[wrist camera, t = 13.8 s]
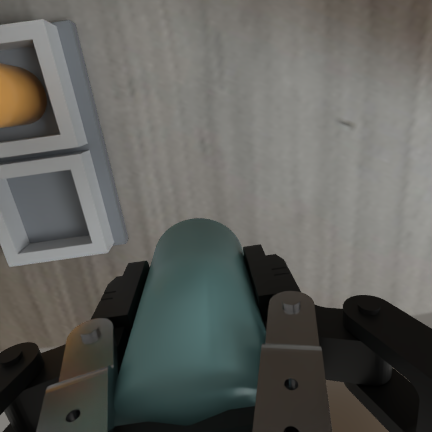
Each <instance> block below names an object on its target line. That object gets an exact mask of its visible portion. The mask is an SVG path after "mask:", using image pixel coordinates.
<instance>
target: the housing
mask: <svg viewBox="0 0 432 432" xmlns="http://www.w3.org/2000/svg"><path fill="white" fill-rule="evenodd" d="M0 63H1V64H6V65H12V66H17V67H21V68H24V69H26V70H28V71H29V72H31V73H32V74H34V75H35V76H36V77H37V78H38V79H39V81H40V82H41V84H42V85H43V87H44V90H45V92H46V97H47V105H46V110H45V112H44V114H43V116H42V117H41V118H40V119H39V120H38V121H36V122H34V123H32V124H27V125H19V126H12V127H4V128H0V245H1V247H2V250H3V252H4V255H5V257H6V260H7V262H8V265H9V267H12V266H19V265H26V264H33V263H40V262H47V261H54V260H61V259H68V258H75V257H82V256H89V255H96V254H103V253H108V252H109V250H110V249H111V247H112V245H119V244H126V243H127V241H128V239H129V238H128V234H127V230H126V226H125V222H124V218H123V214H122V210H121V206H120V202H119V198H118V194H117V190H116V186H115V182H114V178H113V174H112V170H111V166H110V162H109V158H108V154H107V150H106V146H105V142H104V138H103V134H102V130H101V126H100V122H99V118H98V114H97V110H96V106H95V102H94V98H93V94H92V89H91V85H90V81H89V77H88V73H87V69H86V65H85V61H84V57H83V53H82V49H81V45H80V41H79V37H78V33H77V29H76V25H75V23H74V22H72V21H70V20H67V21H60V22H52V23H49V22H48V21H46V20H44V19H40V20H33V21H25V22H18V23H11V24H4V25H0Z"/></svg>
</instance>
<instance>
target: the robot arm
mask: <svg viewBox="0 0 432 432" xmlns="http://www.w3.org/2000/svg"><path fill="white" fill-rule="evenodd" d="M243 253H244V258H245V262H246V265H247V269H248V272H249V276H250V279H251V283H252V286H253V290H254V293H255V296H256V300H257V303H258V307H259V310H260V313H261V316H262V319H263V322H264V326H265V329H266V340H265V343H262V346H261V354H260V364H259V373H258V383H257V393H256V402H255V406H251V407H244V408H237V409H230V410H227V411H225V412H222V413H220V414H217V415H215V416H212V417H210V418H207V419H205V420H202V421H200V422H197V423H195V424H192V425H188V426H185V425H176V424H167V423H159V422H150V421H147V422H140V423H133V424H126V425H120V426H114V417H115V413H116V411H115V408H114V405H113V401H114V393H115V387H116V382H117V378H118V375H119V371H120V368H121V364H122V361H123V358H124V354H125V351H126V347H127V344H128V341H129V337H130V334H131V330H132V327H133V324H134V320H135V317H136V313H137V310H138V307H139V303H140V300H141V296H142V293H143V290H144V286H145V283H146V279H147V276H148V273H149V269H150V267H149V264H148V262H147V261H141V262H134V263H128V265H127V267H126V269H125V272H124V274H123V276H119V277H116V278H115V279H114V280H113V281H111V282H110V283H109V284H108V286H107V288H106V290H105V292H104V294H103V296H102V298H101V301H100V302H99V304H98V306H97V308H96V310H95V312H94V314H93V316H92V318H91V320H89V321H86V322H84V323H82V324H80V325H79V326H77V327H76V328H75V329H74V330H73V331H72V332H71V333H70V334H69V336H68V337H67V341H66V344H65V345H63V346H60V347H57V348H55V349H52V350H49V351H46V352H43V353H40V350H39V348H38V346H37V345H36V344H35V343H31V342H26V343H21V344H17V345H14V346H12V347H10V348H8V349H6V350H4V351H2V352H1V353H0V415H1V414H2V413H3V412H5V414H6V415H7V417H8V420H9V421H10V424H9V425H8V427H7V428H6V429H5V430H4V431H3V432H332V426H331V418H330V410H329V402H328V394H327V387H326V380H333V381H340V382H344V384H345V386H346V387H347V388H348V389H349V391H350V392H351V393H352V394H353V395H354V396H355V397H356V398H357V399H358V400H359V401H360V402H361V403H362V404H363V405H364V406H365V407H366V408H367V409H368V410H369V411H370V412H371V413H372V414H373V415H374V416H375V417H376V418H377V419H378V421H379V422H380V423H381V424H382V425H383V426H384V427H385V428H386V429H387V430H388V431H389V432H432V329H431V328H429V327H428V326H426V325H425V324H423V323H421V322H420V321H418V320H416V319H415V318H413V317H411V316H410V315H408V314H407V313H405V312H403V311H402V310H400V309H398V308H397V307H395V306H393V305H392V304H390V303H389V302H387V301H385V300H383V299H381V298H378V297H375V296H369V295H357V296H353V297H350V298H348V299H347V300H346V301H345V302H344V304H343V309H336V308H325V307H320V306H317V305H314V301H313V300H312V298H311V297H309V296H308V295H306V294H304V293H301V291H300V289H299V287H298V285H297V284H296V282H295V280H294V278H293V276H292V274H291V272H290V270H289V269H288V267H287V265H286V263H285V261H284V259H282V258H281V257H279V256H277V255H276V254H273V255H265V253H264V251H263V248H262V246H261V244H260V245H253V246H246V247H243ZM392 367H393V368H394V369H393V368H392ZM395 369H396V370H397V371H398V372H399V373H398V372H397V371H396V370H395ZM401 374H402V375H403V376H404V377H403V376H402V375H401ZM406 378H407V379H408V380H409V381H410V382H409V381H408V380H407V379H406Z"/></svg>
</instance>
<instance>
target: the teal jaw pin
mask: <svg viewBox="0 0 432 432" xmlns="http://www.w3.org/2000/svg"><path fill="white" fill-rule="evenodd" d="M265 340H266V329H265V326H264V322H263V319H262V316H261V313H260V310H259V307H258V303H257V300H256V296H255V293H254V290H253V286H252V283H251V279H250V276H249V272H248V269H247V265H246V262H245V258H244V253H243V250H242V247H241V244H240V242H239V240H238V238H237V237H236V235H235V234H234V233H233V232H232V231H231V230H230V229H229V228H227V227H226V226H224V225H223V224H221V223H219V222H216V221H213V220H210V219H203V218H196V219H189V220H185V221H182V222H179V223H177V224H175V225H174V226H172V227H170V228H169V229H168V230H167V231H166V232H165V233H164V234H163V235H162V236H161V238H160V239H159V241H158V243H157V245H156V249H155V252H154V256H153V259H152V262H151V266H150V269H149V273H148V276H147V279H146V283H145V286H144V290H143V293H142V296H141V300H140V303H139V307H138V310H137V313H136V317H135V320H134V324H133V327H132V330H131V334H130V337H129V341H128V344H127V347H126V351H125V354H124V358H123V361H122V364H121V368H120V371H119V375H118V378H117V382H116V387H115V393H114V401H113V405H114V408H115V411H116V413H115V417H114V426H120V425H126V424H133V423H140V422H147V421H150V422H159V423H167V424H176V425H185V426H188V425H192V424H195V423H197V422H200V421H202V420H205V419H207V418H210V417H212V416H215V415H217V414H220V413H222V412H225V411H227V410H230V409H237V408H244V407H251V406H255V402H256V393H257V383H258V373H259V364H260V354H261V346H262V343H265Z"/></svg>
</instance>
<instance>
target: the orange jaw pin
mask: <svg viewBox="0 0 432 432" xmlns="http://www.w3.org/2000/svg"><path fill="white" fill-rule="evenodd" d="M46 105H47V97H46V92H45V90H44V87H43V85H42V84H41V82H40V81H39V79H38V78H37V77H36V76H35V75H34V74H32V73H31V72H29V71H28V70H26V69H24V68H21V67H17V66H12V65H6V64H1V63H0V128H4V127H12V126H19V125H27V124H32V123H34V122H36V121H38V120H39V119H40V118H41V117H42V116H43V114H44V112H45V110H46Z"/></svg>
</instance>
